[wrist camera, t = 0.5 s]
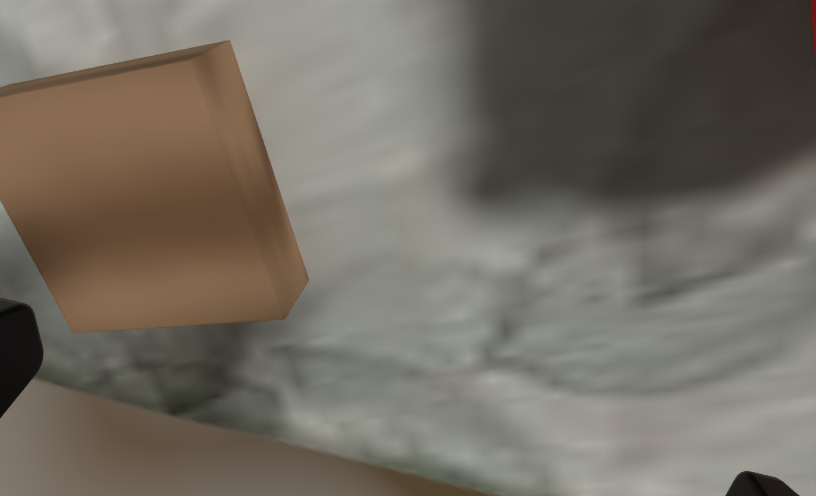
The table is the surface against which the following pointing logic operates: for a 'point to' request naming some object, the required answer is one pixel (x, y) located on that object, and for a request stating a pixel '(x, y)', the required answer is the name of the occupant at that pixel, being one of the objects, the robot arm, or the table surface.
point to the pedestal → (149, 194)
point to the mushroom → (814, 23)
